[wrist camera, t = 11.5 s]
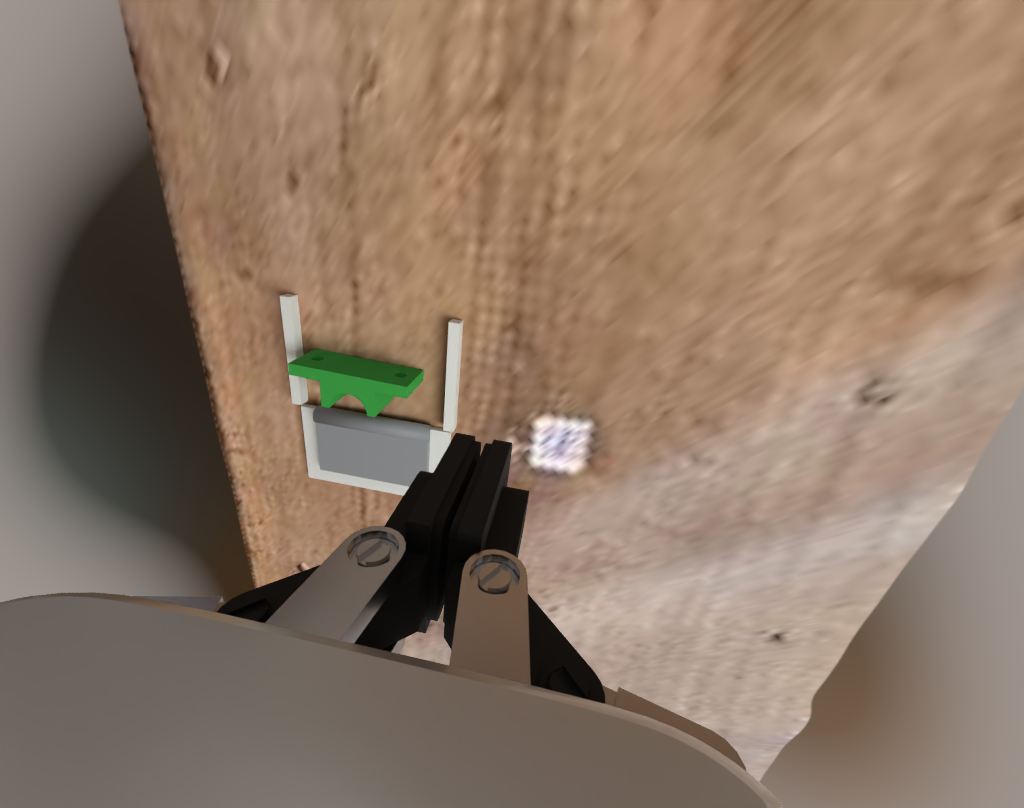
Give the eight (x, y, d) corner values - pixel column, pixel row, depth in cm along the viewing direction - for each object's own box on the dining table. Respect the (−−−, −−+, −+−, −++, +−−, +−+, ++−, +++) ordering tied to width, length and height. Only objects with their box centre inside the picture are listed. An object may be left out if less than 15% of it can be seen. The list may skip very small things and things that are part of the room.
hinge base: (287, 293, 41) (275, 297, 39) (463, 320, 39) (457, 325, 37) (307, 473, 50) (298, 482, 48) (451, 501, 48) (446, 511, 46)
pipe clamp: (318, 382, 45) (290, 400, 40) (316, 347, 43) (287, 362, 39) (422, 403, 44) (405, 424, 39) (424, 369, 42) (406, 387, 38)
